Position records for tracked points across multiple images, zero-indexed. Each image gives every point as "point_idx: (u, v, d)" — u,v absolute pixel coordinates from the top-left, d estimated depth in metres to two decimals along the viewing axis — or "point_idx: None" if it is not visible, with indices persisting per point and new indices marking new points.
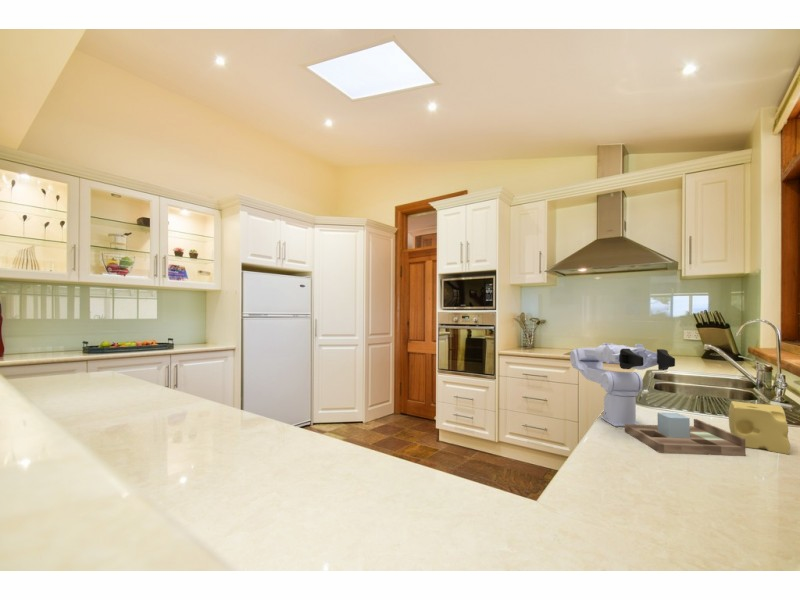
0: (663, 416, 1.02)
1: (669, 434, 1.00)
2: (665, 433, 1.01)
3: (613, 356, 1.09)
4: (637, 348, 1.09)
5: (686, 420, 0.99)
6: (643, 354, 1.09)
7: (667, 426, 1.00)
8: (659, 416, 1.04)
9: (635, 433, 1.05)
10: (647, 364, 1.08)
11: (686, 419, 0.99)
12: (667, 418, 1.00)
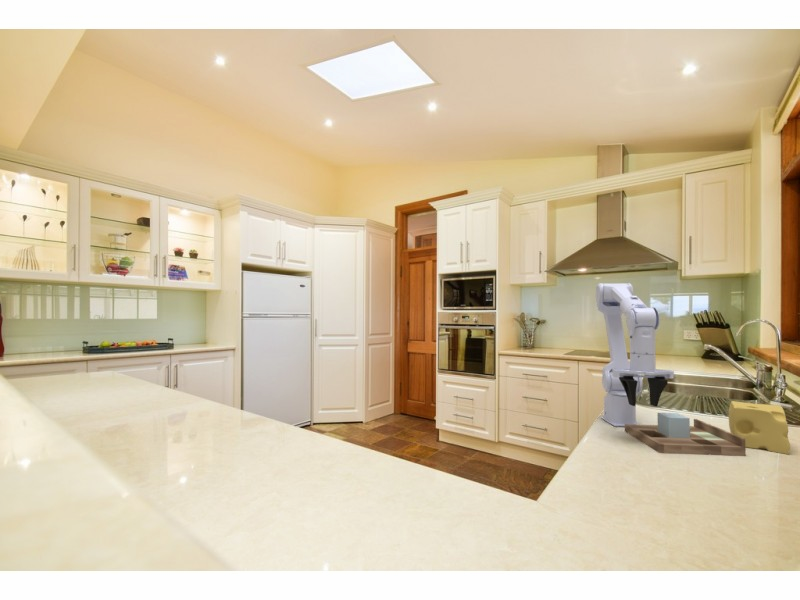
0: (663, 416, 1.02)
1: (669, 434, 1.00)
2: (665, 433, 1.01)
3: (614, 373, 1.03)
4: (645, 374, 1.00)
5: (686, 420, 0.99)
6: None
7: (667, 426, 1.00)
8: (659, 416, 1.04)
9: (635, 433, 1.05)
10: None
11: (686, 419, 0.99)
12: (667, 418, 1.00)
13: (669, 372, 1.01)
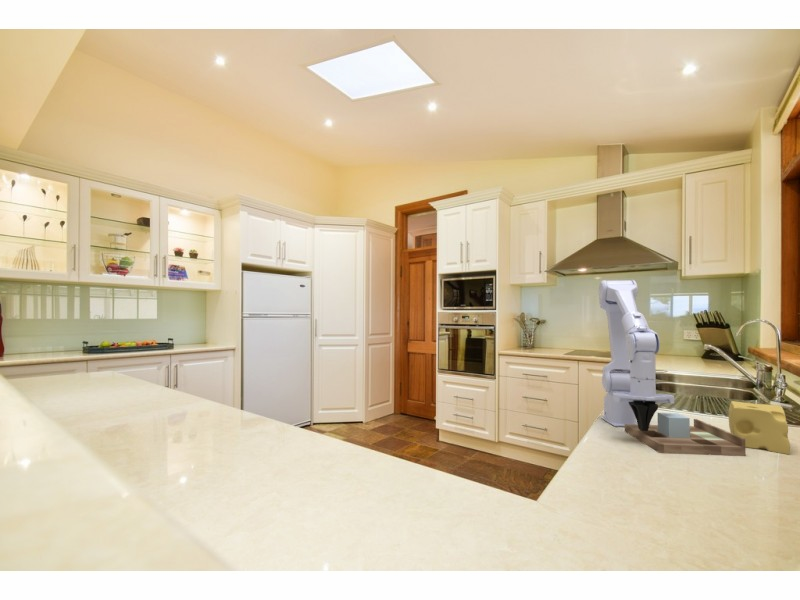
0: (663, 416, 1.02)
1: (669, 434, 1.00)
2: (665, 433, 1.01)
3: (615, 397, 1.03)
4: (645, 399, 1.00)
5: (686, 420, 0.99)
6: None
7: (667, 426, 1.00)
8: (659, 416, 1.04)
9: (635, 433, 1.05)
10: None
11: (686, 419, 0.99)
12: (667, 418, 1.00)
13: (669, 397, 1.01)
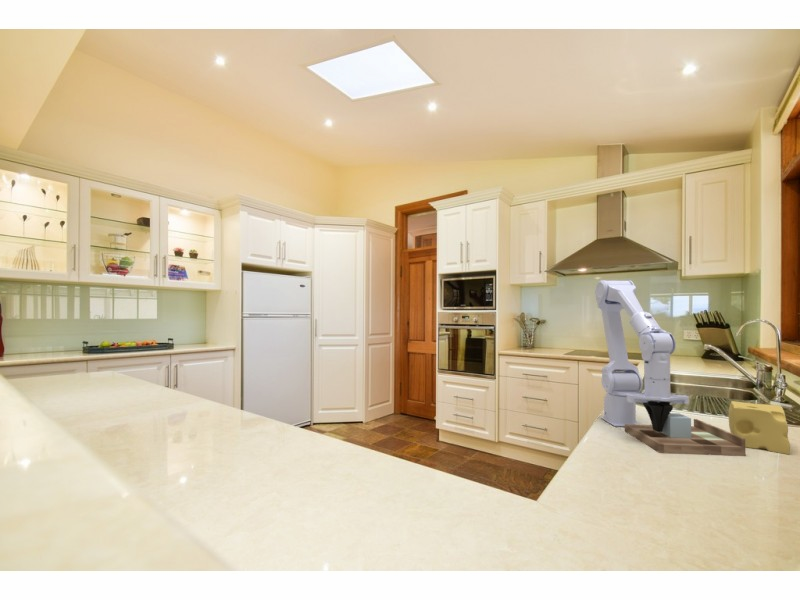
0: None
1: (670, 434, 1.00)
2: (666, 433, 1.01)
3: (629, 398, 1.02)
4: (660, 400, 1.00)
5: (687, 420, 0.99)
6: None
7: (668, 426, 1.00)
8: None
9: (635, 433, 1.05)
10: None
11: (687, 419, 0.99)
12: (668, 418, 1.00)
13: (684, 398, 1.01)
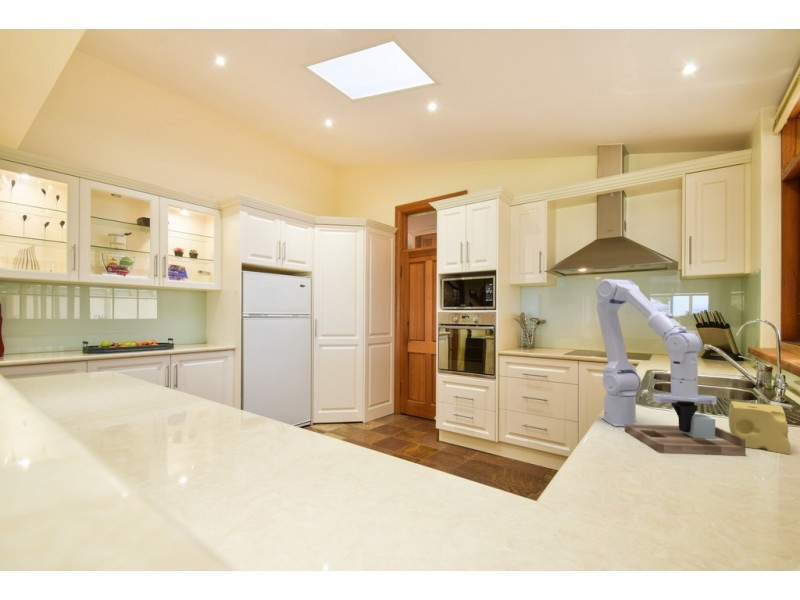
0: None
1: (693, 434, 0.99)
2: (689, 433, 1.00)
3: (656, 398, 1.02)
4: (688, 400, 0.99)
5: (712, 421, 0.99)
6: None
7: (692, 426, 1.00)
8: None
9: (635, 433, 1.05)
10: None
11: (712, 420, 0.99)
12: (692, 418, 1.00)
13: (712, 398, 1.00)
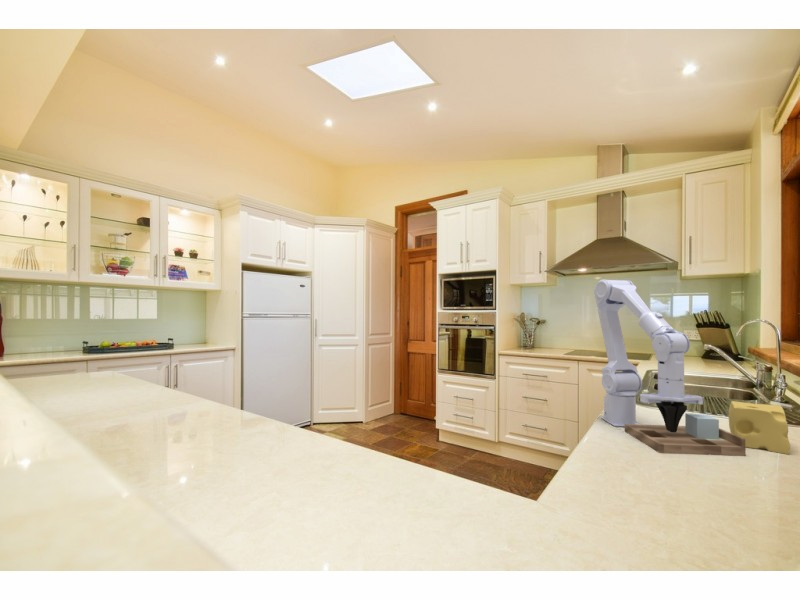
0: (691, 417, 1.01)
1: (697, 435, 0.99)
2: (693, 434, 1.00)
3: (643, 398, 1.02)
4: (674, 400, 0.99)
5: (715, 421, 0.99)
6: None
7: (695, 427, 1.00)
8: (687, 417, 1.03)
9: (635, 433, 1.05)
10: None
11: (715, 420, 0.99)
12: (695, 419, 1.00)
13: (698, 398, 1.01)
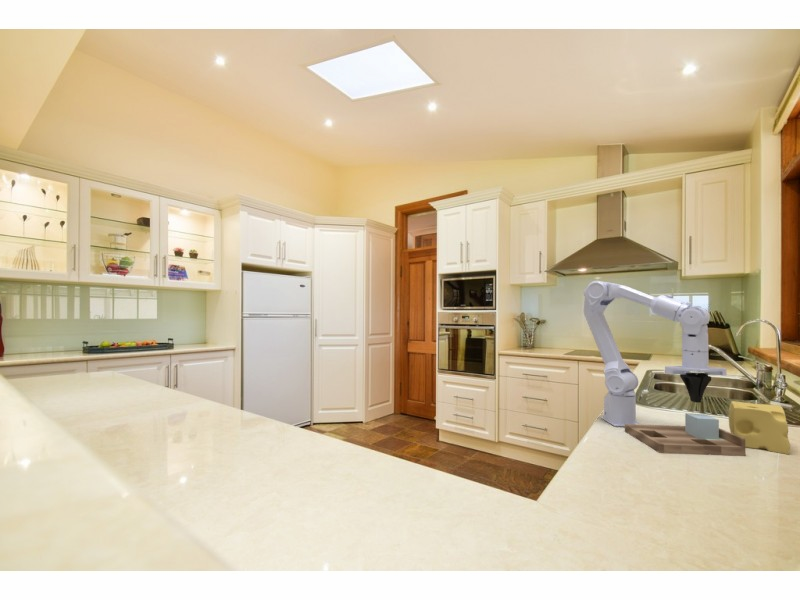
0: (691, 417, 1.01)
1: (697, 435, 0.99)
2: (693, 434, 1.00)
3: (668, 370, 1.05)
4: (699, 371, 1.03)
5: (715, 421, 0.99)
6: None
7: (695, 427, 1.00)
8: (687, 417, 1.03)
9: (635, 433, 1.05)
10: None
11: (715, 420, 0.99)
12: (695, 419, 1.00)
13: (722, 369, 1.04)
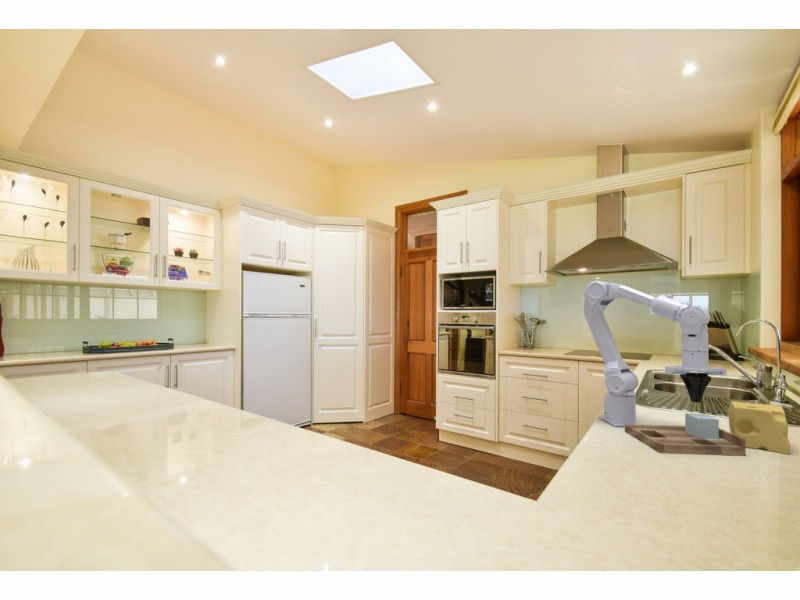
0: (691, 417, 1.01)
1: (697, 435, 0.99)
2: (693, 434, 1.00)
3: (668, 370, 1.05)
4: (699, 371, 1.03)
5: (715, 421, 0.99)
6: None
7: (695, 427, 1.00)
8: (687, 417, 1.03)
9: (635, 433, 1.05)
10: None
11: (715, 420, 0.99)
12: (695, 419, 1.00)
13: (722, 369, 1.04)
